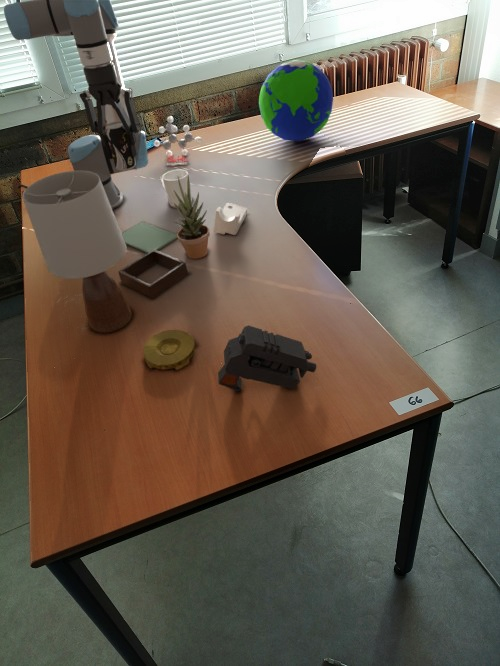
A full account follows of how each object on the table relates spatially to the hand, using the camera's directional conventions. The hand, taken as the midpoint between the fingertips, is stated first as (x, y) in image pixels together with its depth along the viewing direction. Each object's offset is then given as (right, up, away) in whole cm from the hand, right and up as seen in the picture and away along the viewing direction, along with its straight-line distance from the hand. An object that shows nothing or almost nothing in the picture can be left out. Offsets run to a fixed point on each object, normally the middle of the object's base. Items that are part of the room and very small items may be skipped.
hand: (123, 156), depth 138 cm
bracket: (+29, -13, +25) cm, 41 cm away
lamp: (-2, -45, -6) cm, 45 cm away
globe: (+55, +33, +74) cm, 98 cm away
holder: (+8, -33, +6) cm, 34 cm away
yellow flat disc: (+16, -53, -19) cm, 59 cm away
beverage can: (0, -3, +2) cm, 4 cm away
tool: (+39, -59, -29) cm, 76 cm away
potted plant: (+19, -24, +14) cm, 34 cm away
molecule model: (+5, +23, +71) cm, 75 cm away
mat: (+1, -18, +24) cm, 30 cm away
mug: (+9, -2, +41) cm, 42 cm away
